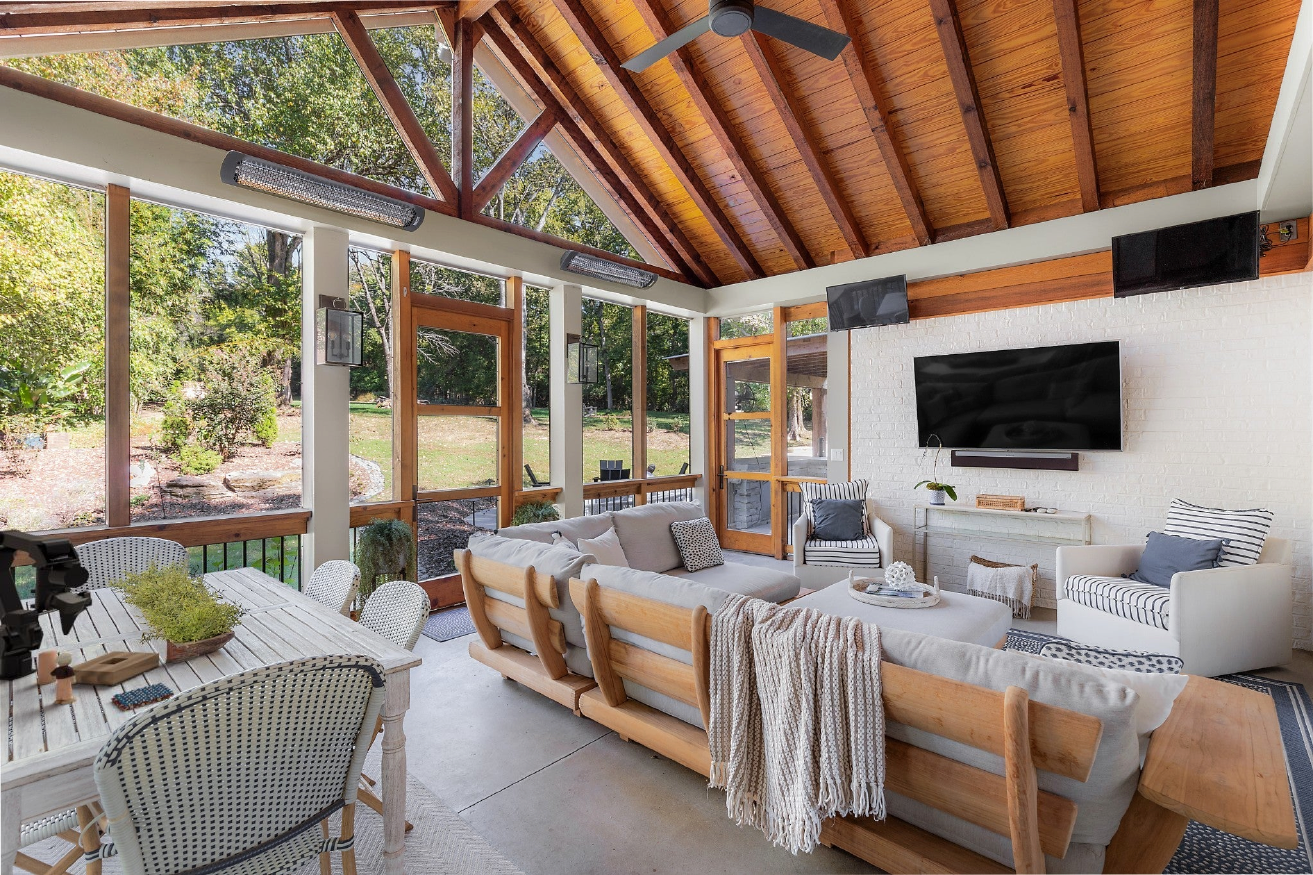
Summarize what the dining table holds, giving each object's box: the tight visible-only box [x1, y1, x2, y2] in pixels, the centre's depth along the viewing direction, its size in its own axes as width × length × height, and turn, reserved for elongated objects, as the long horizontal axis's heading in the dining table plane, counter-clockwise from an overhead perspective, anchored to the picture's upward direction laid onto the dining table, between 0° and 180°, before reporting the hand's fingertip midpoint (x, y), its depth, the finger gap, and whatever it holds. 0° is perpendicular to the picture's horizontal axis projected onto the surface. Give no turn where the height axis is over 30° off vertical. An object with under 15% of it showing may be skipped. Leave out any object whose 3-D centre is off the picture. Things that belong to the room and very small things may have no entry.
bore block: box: [71, 650, 160, 688], centre depth 167 cm, size 14×14×4 cm
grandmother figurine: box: [49, 651, 77, 705], centre depth 151 cm, size 8×4×13 cm, turn 92°
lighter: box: [165, 637, 200, 665], centre depth 180 cm, size 8×3×10 cm, turn 141°
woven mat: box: [110, 682, 175, 712], centre depth 153 cm, size 10×11×2 cm
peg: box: [37, 650, 58, 686], centre depth 162 cm, size 4×4×8 cm
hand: (48, 640), depth 162 cm, fingers open, 9 cm apart
